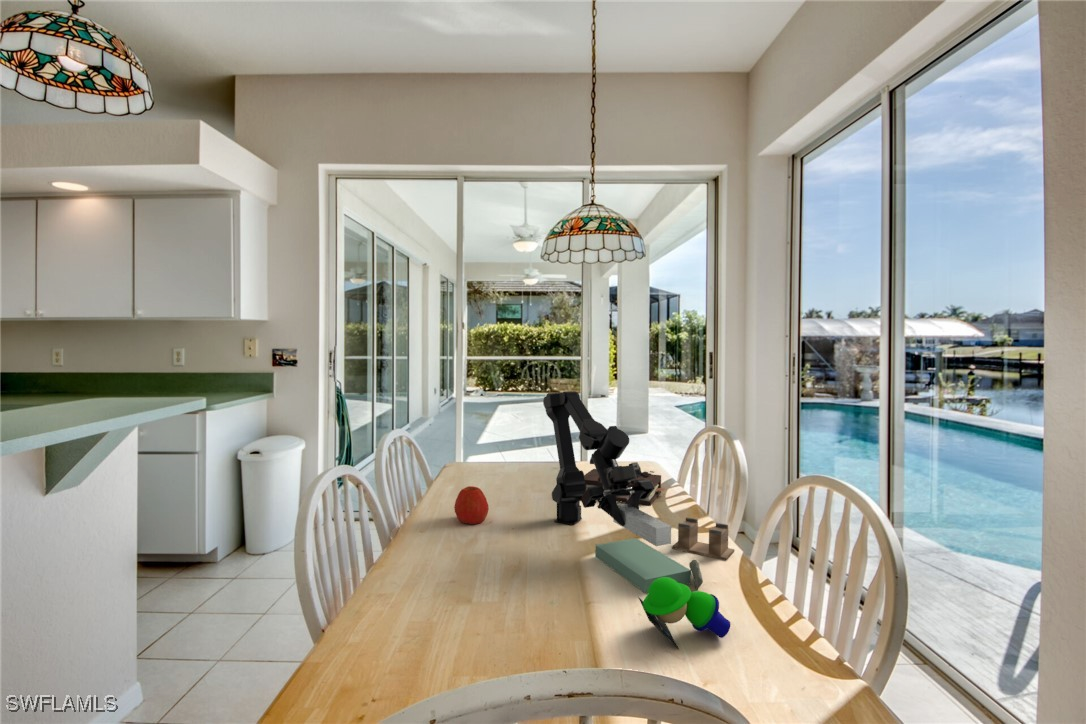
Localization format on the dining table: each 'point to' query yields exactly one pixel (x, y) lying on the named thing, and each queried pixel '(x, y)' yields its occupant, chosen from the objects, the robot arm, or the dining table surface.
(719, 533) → the rack
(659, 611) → the toy
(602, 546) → the green rectangular slab
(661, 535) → the rail
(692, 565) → the stone
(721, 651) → the dining table surface
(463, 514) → the apple
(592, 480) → the decorative book
